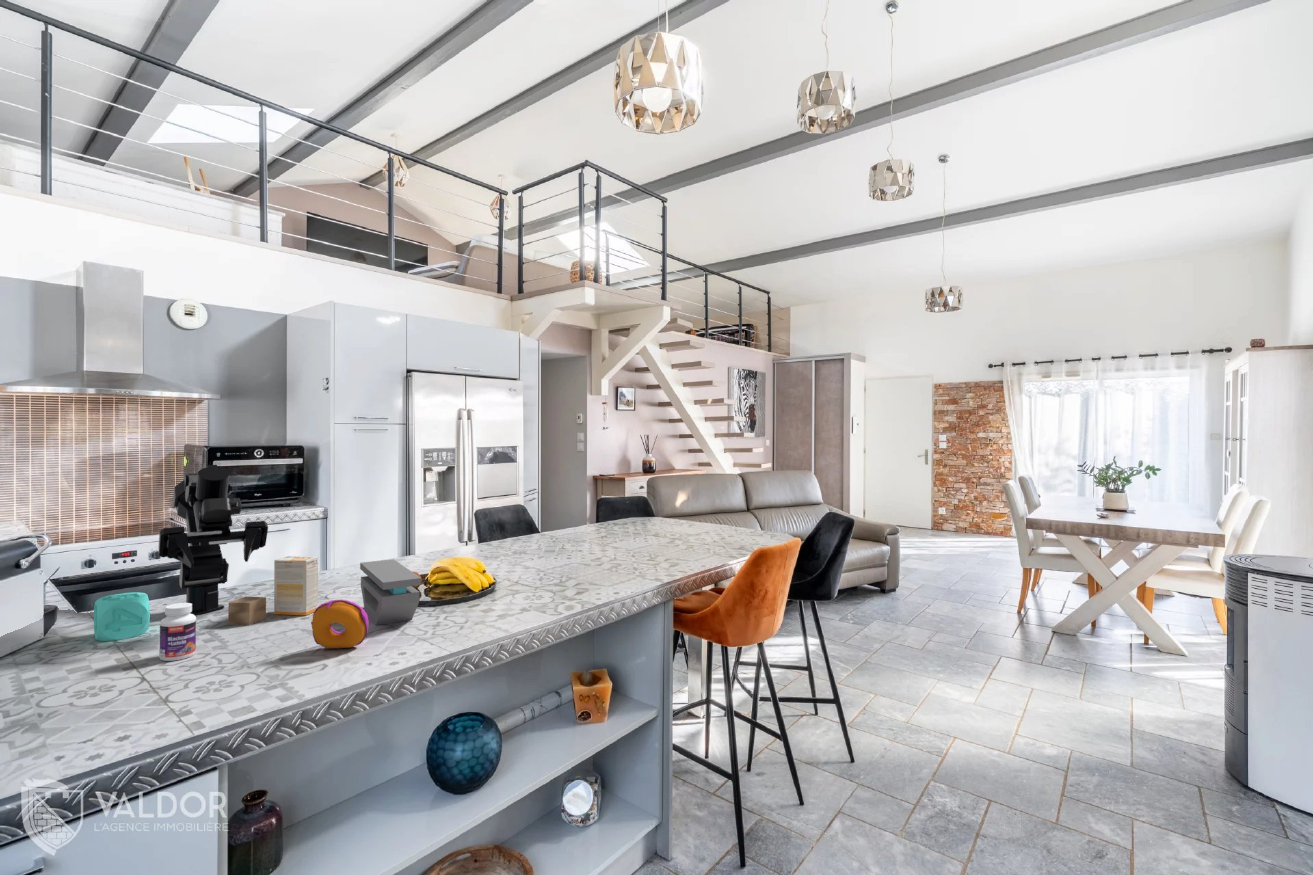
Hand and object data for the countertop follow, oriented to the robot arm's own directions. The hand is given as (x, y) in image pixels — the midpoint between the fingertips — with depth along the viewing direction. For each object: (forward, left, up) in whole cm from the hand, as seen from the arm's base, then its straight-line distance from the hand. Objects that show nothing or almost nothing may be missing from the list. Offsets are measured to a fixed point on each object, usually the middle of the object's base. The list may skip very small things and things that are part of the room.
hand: (220, 562), depth 124 cm
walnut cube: (-6, +10, -16) cm, 19 cm away
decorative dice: (-21, -6, -16) cm, 27 cm away
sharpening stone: (+20, +25, -16) cm, 36 cm away
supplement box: (-2, +19, -16) cm, 25 cm away
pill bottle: (+3, -10, -16) cm, 19 cm away
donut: (+28, +4, -16) cm, 33 cm away
